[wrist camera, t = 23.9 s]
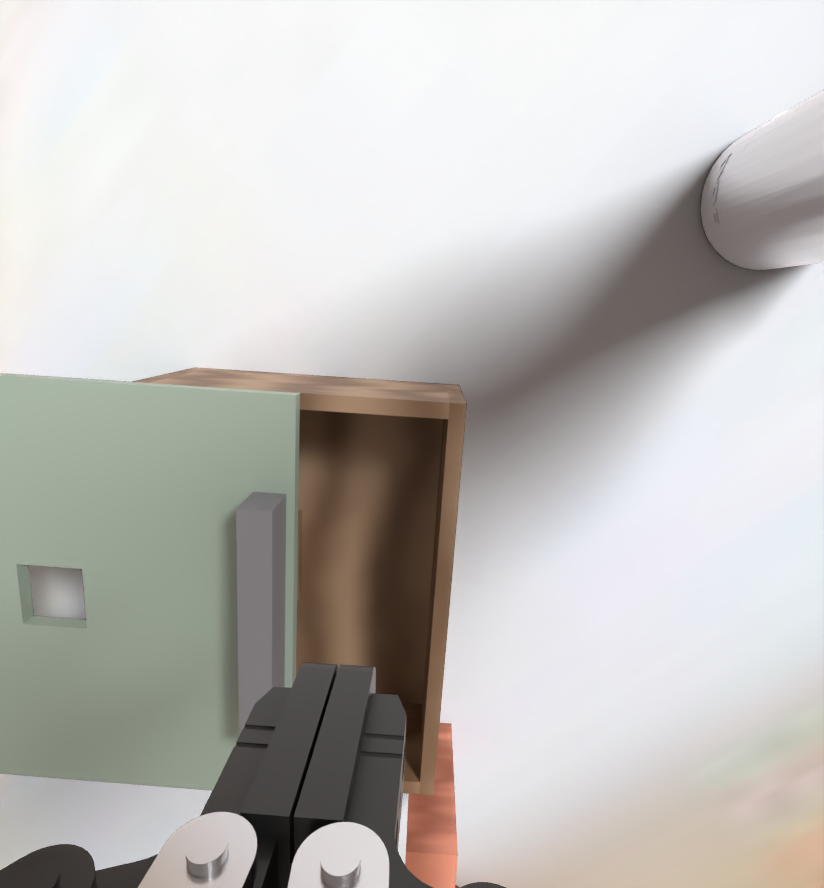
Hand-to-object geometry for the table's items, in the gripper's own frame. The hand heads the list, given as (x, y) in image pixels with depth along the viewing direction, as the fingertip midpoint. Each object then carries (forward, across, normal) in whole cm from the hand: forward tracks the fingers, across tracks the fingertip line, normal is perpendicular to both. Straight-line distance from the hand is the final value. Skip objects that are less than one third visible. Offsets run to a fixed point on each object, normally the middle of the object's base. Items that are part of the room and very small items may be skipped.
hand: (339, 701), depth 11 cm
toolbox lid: (+22, +17, +11) cm, 30 cm away
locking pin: (+31, -2, +29) cm, 43 cm away
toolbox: (+31, +7, +11) cm, 34 cm away
